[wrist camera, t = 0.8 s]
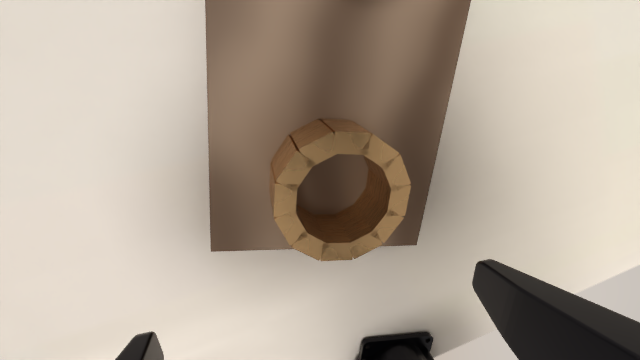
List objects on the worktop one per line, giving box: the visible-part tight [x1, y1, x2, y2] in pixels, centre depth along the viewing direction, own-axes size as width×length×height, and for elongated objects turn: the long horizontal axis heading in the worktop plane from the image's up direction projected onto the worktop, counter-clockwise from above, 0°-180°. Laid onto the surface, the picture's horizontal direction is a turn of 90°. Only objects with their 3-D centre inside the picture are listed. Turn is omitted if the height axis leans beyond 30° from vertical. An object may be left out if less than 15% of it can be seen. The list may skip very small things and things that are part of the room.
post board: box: [205, 0, 471, 251], centre depth 16 cm, size 14×22×6 cm, turn 174°
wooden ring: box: [269, 118, 411, 261], centre depth 19 cm, size 7×7×4 cm
